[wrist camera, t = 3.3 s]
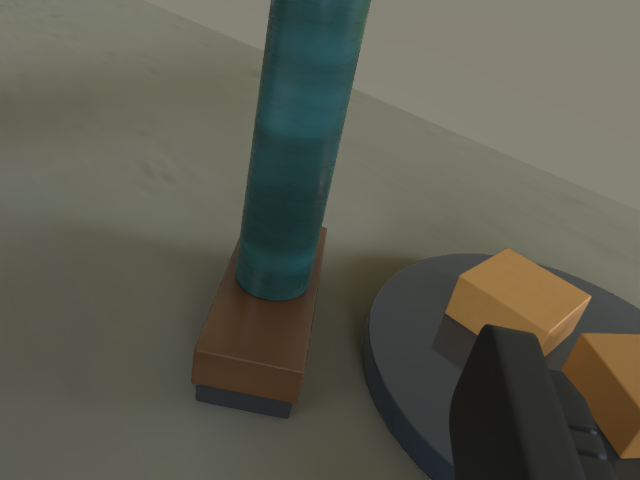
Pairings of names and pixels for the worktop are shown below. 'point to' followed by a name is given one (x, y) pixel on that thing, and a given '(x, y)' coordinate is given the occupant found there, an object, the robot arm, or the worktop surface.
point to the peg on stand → (282, 210)
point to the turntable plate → (454, 355)
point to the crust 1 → (517, 299)
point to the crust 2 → (610, 385)
